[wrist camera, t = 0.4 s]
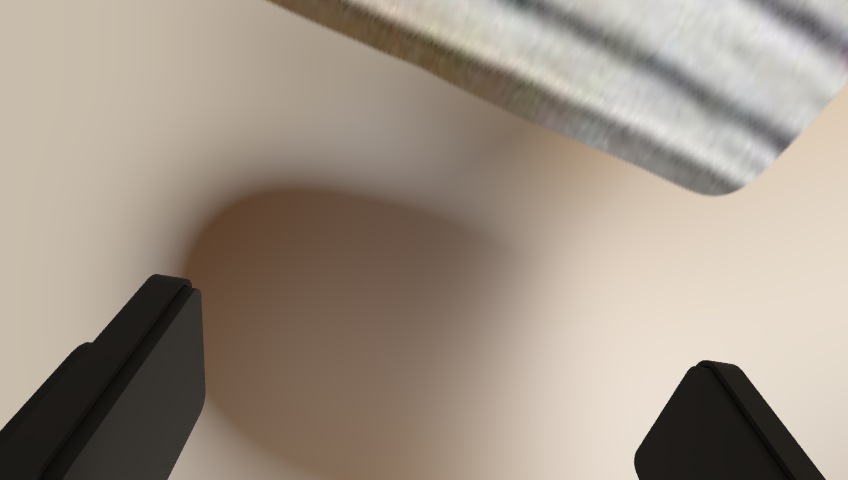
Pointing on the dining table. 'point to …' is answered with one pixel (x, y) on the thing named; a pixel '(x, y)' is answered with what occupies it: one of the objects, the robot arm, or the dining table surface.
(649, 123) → the dining table surface
